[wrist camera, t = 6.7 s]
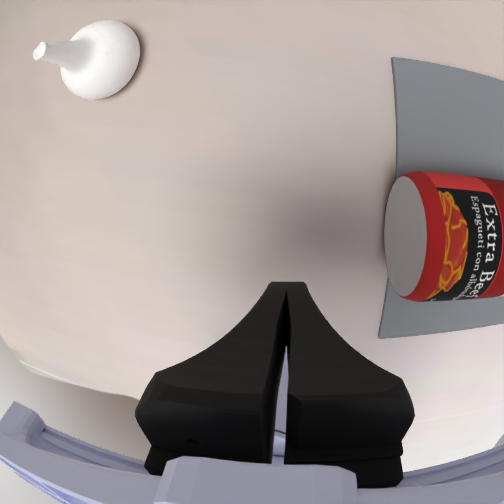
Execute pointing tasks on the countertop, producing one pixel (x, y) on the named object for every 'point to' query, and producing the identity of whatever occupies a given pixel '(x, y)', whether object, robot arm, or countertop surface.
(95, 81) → the garlic bulb
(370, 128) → the countertop surface
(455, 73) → the slate mat
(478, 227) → the canned food
